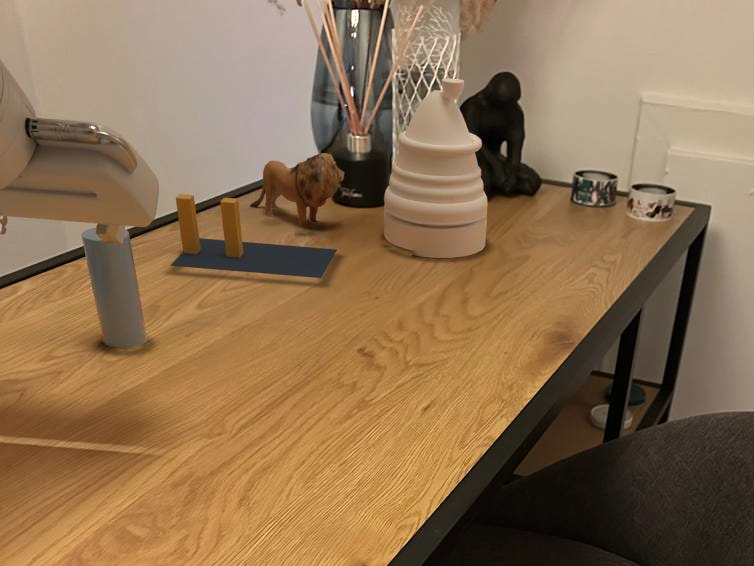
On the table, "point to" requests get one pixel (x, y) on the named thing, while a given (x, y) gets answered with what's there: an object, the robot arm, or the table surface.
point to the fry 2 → (231, 227)
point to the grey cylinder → (115, 290)
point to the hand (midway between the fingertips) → (56, 230)
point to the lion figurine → (301, 185)
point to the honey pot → (437, 182)
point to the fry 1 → (188, 223)
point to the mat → (260, 259)
